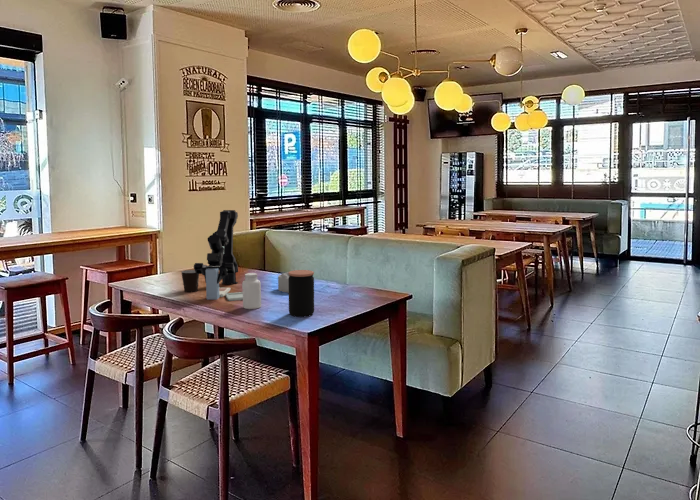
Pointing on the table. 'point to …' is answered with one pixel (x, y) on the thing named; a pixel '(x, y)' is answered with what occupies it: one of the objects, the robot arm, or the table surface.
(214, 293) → the blue tall block
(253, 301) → the pill bottle
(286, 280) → the lumpy-topped squat cylinder
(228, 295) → the tray
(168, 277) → the table surface
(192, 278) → the coffee mug
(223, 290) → the board
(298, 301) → the coffee jar
